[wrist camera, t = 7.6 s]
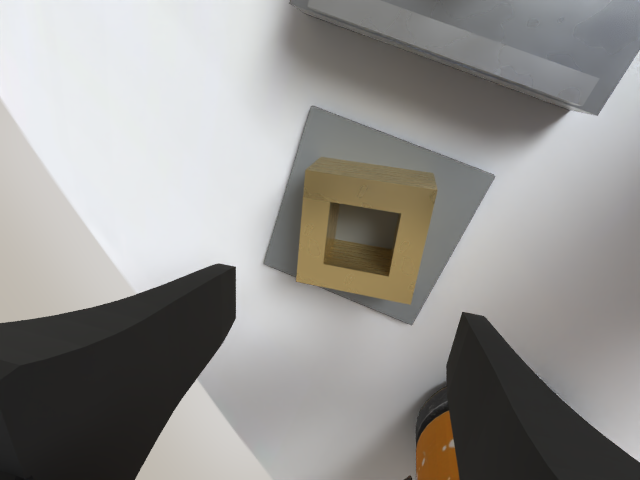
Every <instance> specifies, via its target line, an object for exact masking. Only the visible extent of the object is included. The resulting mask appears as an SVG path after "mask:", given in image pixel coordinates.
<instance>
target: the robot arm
mask: <svg viewBox="0 0 640 480" xmlns="http://www.w3.org/2000/svg"><path fill="white" fill-rule="evenodd" d="M235 319H236V267H234V266H229V265H224V264H215V265H212V266H209V267H206V268H204V269H201V270H199V271H196V272H194V273H191V274H189V275H186V276H184V277H181V278H179V279H176V280H174V281H172V282H169V283H167V284H164V285H161V286H159V287H156V288H153V289H150V290H147V291H145V292H142V293H139V294H136V295H134V296H131V297H127V298H124V299H121V300H118V301H114V302H111V303H107V304H103V305H100V306H96V307H92V308H88V309H83V310H78V311H73V312H68V313H64V314H59V315H54V316H49V317H42V318H36V319H30V320H22V321H15V322H7V323H0V480H135V478H136V476H137V474H138V473H139V471H140V468H141V467H142V465H143V464H144V462H145V460H146V458H147V456H148V455H149V453H150V451H151V449H152V447H153V446H154V444H155V442H156V440H157V438H158V437H159V435H160V433H161V432H162V430H163V428H164V427H165V425H166V423H167V422H168V420H169V418H170V416H171V415H172V413H173V411H174V410H175V408H176V407H177V405H178V404H179V402H180V401H181V399H182V398H183V396H184V395H185V394H186V392H187V391H188V390H189V388H190V387H191V386H192V384H193V383H194V382H195V380H196V379H197V377H198V376H199V375H200V373H201V372H202V371H203V369H204V368H205V367H206V365H207V364H208V363H209V361H210V360H211V358H212V357H213V356H214V354H215V353H216V352H217V350H218V349H219V347H220V346H221V345H222V343H223V341H224V340H225V338H226V336H227V334H228V332H229V330H230V328H231V327H232V325H233V323H234V321H235ZM447 400H448V407H449V413H450V420H451V427H452V433H453V440H454V446H455V453H456V459H457V466H458V472H459V480H640V462H638V461H637V460H635V459H634V458H633V457H631V456H630V455H629V454H627V453H626V452H625V451H623V450H622V449H621V448H619V447H618V446H617V445H615V444H614V443H613V442H612V441H610V440H609V439H608V438H606V437H605V436H604V435H602V434H601V433H600V432H599V431H597V430H596V429H595V428H594V427H592V426H591V425H590V424H589V423H588V422H586V421H585V420H584V419H583V418H582V417H581V416H580V415H578V414H577V413H576V412H575V411H574V410H573V409H571V408H570V407H569V406H568V405H567V404H566V403H565V402H564V401H562V400H561V399H560V398H559V397H558V396H557V395H556V394H555V393H554V392H553V391H552V390H551V389H550V388H549V387H548V386H547V385H546V384H545V383H544V382H543V381H542V380H541V379H540V378H539V377H538V376H537V375H536V374H535V373H534V372H533V371H532V370H531V369H530V368H529V367H528V366H527V365H526V364H525V362H524V361H523V360H522V359H521V358H520V357H519V356H518V355H517V354H516V352H515V351H514V350H513V349H512V348H511V347H510V346H509V344H508V343H507V342H506V341H505V340H504V339H503V337H502V336H501V335H500V334H499V333H498V332H497V330H496V329H495V328H494V327H493V326H492V324H491V323H490V322H489V321H488V320H487V319H486V318H485V317H484V316H480V315H475V314H470V313H465V312H462V315H461V318H460V322H459V325H458V329H457V332H456V335H455V339H454V342H453V345H452V349H451V352H450V355H449V359H448V362H447Z"/></svg>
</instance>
